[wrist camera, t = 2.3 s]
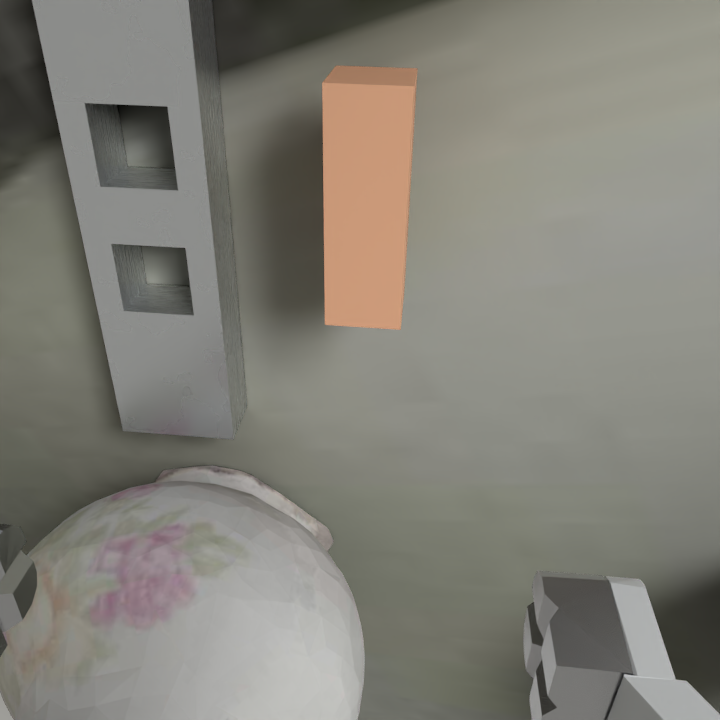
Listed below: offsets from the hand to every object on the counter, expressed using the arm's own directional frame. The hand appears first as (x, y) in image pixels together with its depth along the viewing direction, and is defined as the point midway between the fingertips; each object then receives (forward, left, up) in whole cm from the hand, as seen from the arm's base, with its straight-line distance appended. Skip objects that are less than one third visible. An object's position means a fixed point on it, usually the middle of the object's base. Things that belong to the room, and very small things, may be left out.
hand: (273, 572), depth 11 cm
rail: (+2, -10, -23) cm, 25 cm away
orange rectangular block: (0, 0, -23) cm, 23 cm away
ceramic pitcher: (+25, -10, -23) cm, 36 cm away
